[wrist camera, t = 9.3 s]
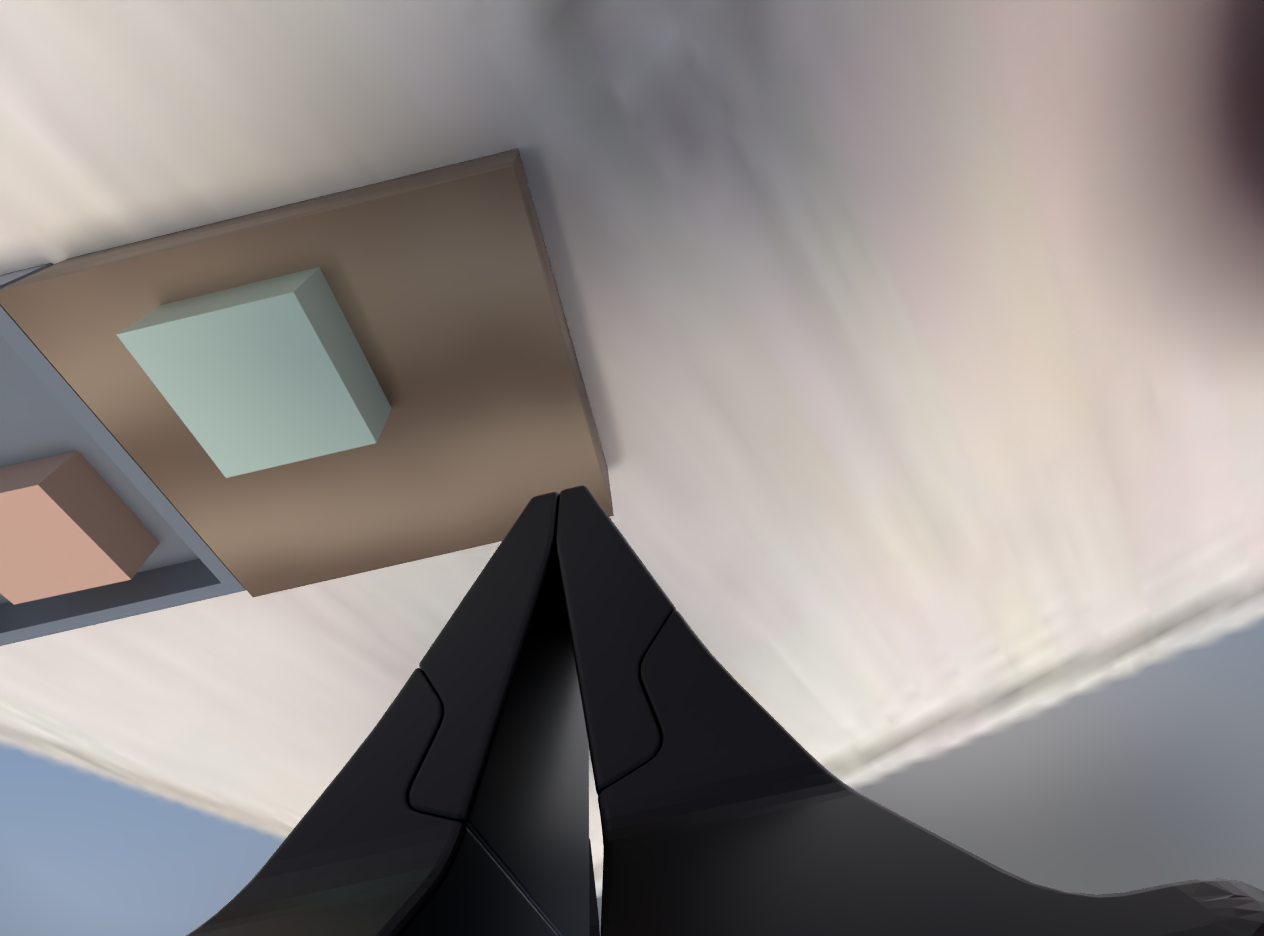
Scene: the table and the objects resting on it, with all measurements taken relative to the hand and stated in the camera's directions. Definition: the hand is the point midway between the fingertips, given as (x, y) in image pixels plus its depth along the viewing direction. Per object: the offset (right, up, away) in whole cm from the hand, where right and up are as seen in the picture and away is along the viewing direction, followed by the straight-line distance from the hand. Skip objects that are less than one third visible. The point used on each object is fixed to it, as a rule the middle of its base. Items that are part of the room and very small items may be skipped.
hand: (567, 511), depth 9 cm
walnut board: (-8, +4, +12) cm, 15 cm away
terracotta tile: (-20, -2, +11) cm, 23 cm away
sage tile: (-9, +4, +8) cm, 13 cm away
